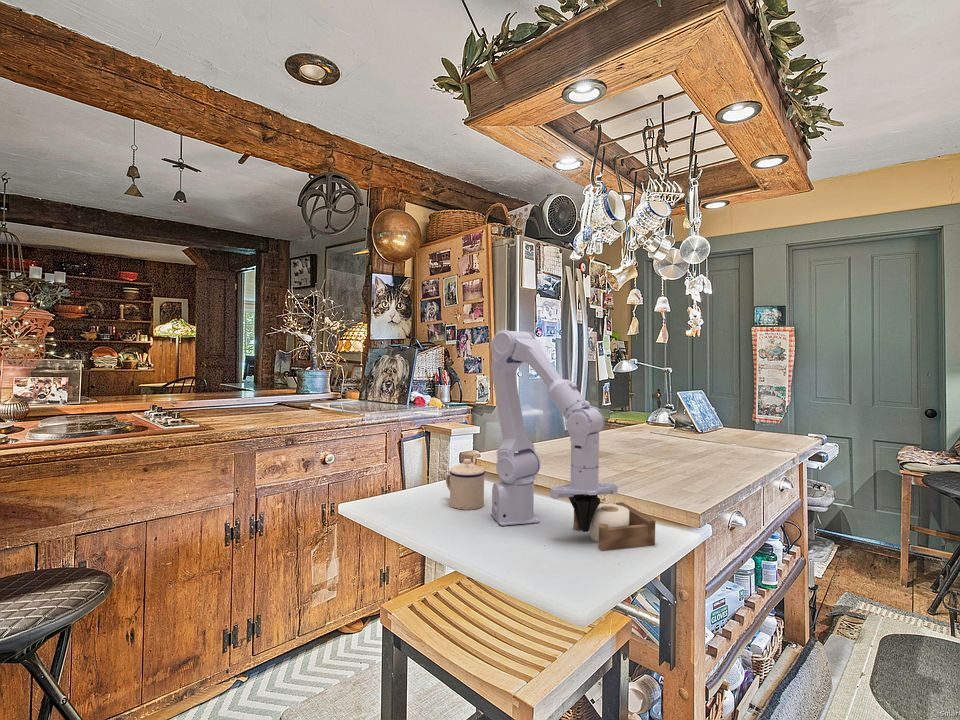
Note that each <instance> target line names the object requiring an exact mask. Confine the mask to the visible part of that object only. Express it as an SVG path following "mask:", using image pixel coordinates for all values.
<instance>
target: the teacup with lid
mask: <svg viewBox="0 0 960 720" xmlns="http://www.w3.org/2000/svg"><path fill="white" fill-rule="evenodd" d="M485 474H486V471H485V469H484V467H482V466H479V465H477V464H475V463H474V462H472V459H471V458H463V462H462V463H459V464H458V465H455V466H452V467H451V468H450V469H449V472H448V473H447V474H446V475H445V484H446V487H447V489H448V491H449V505H450V506H451V507H452V508H453V507H454V509H456V508H457V509H456V510H461V509H463V510H462V511H472V510H473V509H474V510H477V509H481V508H482V507H483V506H484V505H485ZM480 507H481V508H480Z"/></svg>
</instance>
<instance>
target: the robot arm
mask: <svg viewBox="0 0 960 720" xmlns="http://www.w3.org/2000/svg"><path fill="white" fill-rule="evenodd" d="M489 345H490V351H491V356H492V357H491V365H490V366H491V367H490V371H491V376H492V382H493V387H494V388H493V389H494V394H495V395H494V396H495V400H496V405H497V412H498V413H497V414H498V417H499V423H500V424H499V425H500V428H501V436H502V443H501V444H500V446H499V447H498V448H497V450H496V456H497V458H496V459H497V460H496V465H495V466H496V474H497V475H498V477H499V479H500V481H498V482H494V483H493V484H492V490H491V499H492V500H491V512H490V515H491V516H492V517H493V518H494V520H495V521H496V522H497V523H498V524H499V525H500V526H501V527H502V526H513V525H524V524H525V525H527V524H535V523H536V524H537V523H540V519H539V518H538V517H536V516H535V514H534V505H535V504H534V496H535V494H534V493H535V492H534V491H535V488H534V487H535V486H534V485H535V480H536V475H537V474H538V473H539V472H540V469H541V459H540V457H539V455H538V453H537V451H536V449H535V445H534V443H533V442H532V441H531V440H530V439H528V437H527V434H526V428H525V424H524V423H525V422H524V417H523V412H522V407H521V406H522V405H521V399H520V395H519V389H518V384H517V377H516V372H517V370H519V367H520V366H521V365H523V364H524V363H526V364H528V365H529V366H530V367H531V368H532V370H533V371H534V372H535V373H536V375H537V376H538V377H539V378H540V379H541V380H542V381H543V383H544V384H545V385H546V386H547V387H548V397H549V399H550V400H551V401H552V403H553V404H554V405H555V406H556V407H557V409H558V410H559V412H560V413H561V415H562V416H563V417H564V419H566V420H565V423H564V424H565V428H566V430H567V432H568V433H569V437H570V439H569V441H570V483H569V484H564V485H559V486H552V487H550V490H549V491H550V494H549V495H550V497H551V499H553V500H559V499H561V498H568V500H569V501H570V503H571V506H572V508H573V512H574V511H575V514H576V517H577V521H578V526H579V529H580V530H579V531H581V532H582V533H587V532H590V529H589V527H590V524H591V520H592V517H593V515H594V513H595V511H596V509H597V507H598V506H599V504H601V498H600V497H599V496H602V495H603V496H604V495H613V496H616V495H618V490H619V488H618V485H617V484H615V483H613V482H612V483H611V482H610V483H605V482H603V483H601V482H599V473H600V471H599V470H600V469H599V468H600V467H599V464H600V463H599V462H600V432H601V431H603V429H604V428H605V427H604V426H605V417H604V415H603V413H602V410H601V409H600V408H599V407H597V406H592V405H591V402H589V401H588V400H586V399H585V398H584V397H583V395H582V394H581V393H580V391H579V390H578V389H577V388H578V385H577V384H576V382H573V381H571V380H570V379H563V378H562V376H561V375H560V374H559V372H558V371H557V369H556V367H554V365H553V363H552V362H551V360H550V359H549V357H548V356H547V354H546V353H545V352H544V350H543V349H542V346H541V341H540V340H538V339H537V338H536V336H535V334H534V333H532V332H531V331H527V330H525V331H519V330H517V331H516V330H508V329H507V330H506V329H501V330H499V331H497V332H496V333H495V335H494V336H493V338H492V340H491V341H490V343H489Z"/></svg>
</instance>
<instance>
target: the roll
mask: <svg viewBox="0 0 960 720" xmlns="http://www.w3.org/2000/svg"><path fill="white" fill-rule="evenodd" d="M599 524H607V525H608V528H609V527H619V526H629V510H628V509H627V508H626V507H623V506H620V505H616V503H602V502H600V504H599V506H598V507H597V509H596V511H595V513H594V515H593V517H592V520H591V524H590V529H589V537H590V539H591V540H593V541H595V542H597V543H599Z"/></svg>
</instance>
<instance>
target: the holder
mask: <svg viewBox="0 0 960 720" xmlns="http://www.w3.org/2000/svg"><path fill="white" fill-rule="evenodd" d="M615 504H616V505H620V506H623V507H626V508H627V509H628V510H629V526H619V527H609V528H608V525H607V524H599V542H598V549H599V550H600V551H601V552H602V551H603V552H604V551H612V550H619V549H621V548H622V549H630V547H631V548H638V547H648V546H655V545H656V520H655V519H653V518H651V517H650V516H648V515H646V514H644V513H643V512H641V511H639V510H637V509H635V508H634V507H632V506H629V505H628V504H626V503H624V502H621V501H620V502H616V503H615ZM573 529H574V530H575V531H581V530H580V529H579V526H578V521H577V517H576V514H575V511H574V510H573ZM589 530H590V527H589Z"/></svg>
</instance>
